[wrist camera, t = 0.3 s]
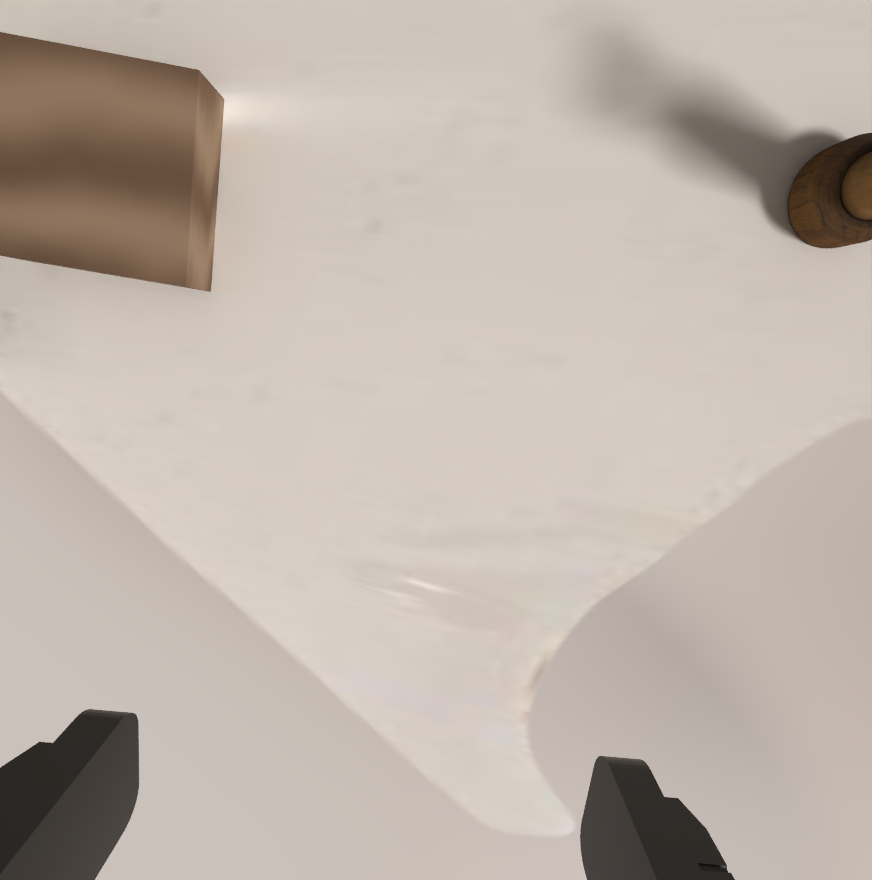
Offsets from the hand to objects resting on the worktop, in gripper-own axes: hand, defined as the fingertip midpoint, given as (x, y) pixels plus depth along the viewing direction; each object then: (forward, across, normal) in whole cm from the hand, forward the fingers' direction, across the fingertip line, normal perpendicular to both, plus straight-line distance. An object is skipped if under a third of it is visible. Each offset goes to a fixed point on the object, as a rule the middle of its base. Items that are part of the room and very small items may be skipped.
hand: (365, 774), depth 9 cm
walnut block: (+29, +21, -15) cm, 39 cm away
